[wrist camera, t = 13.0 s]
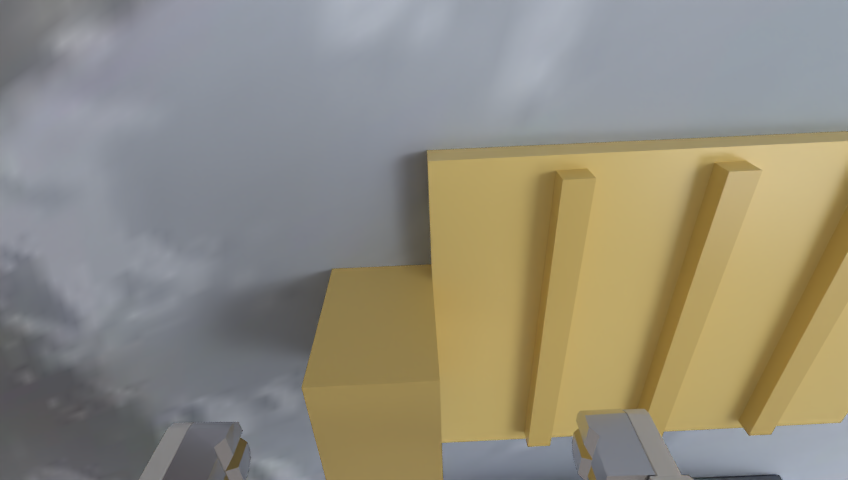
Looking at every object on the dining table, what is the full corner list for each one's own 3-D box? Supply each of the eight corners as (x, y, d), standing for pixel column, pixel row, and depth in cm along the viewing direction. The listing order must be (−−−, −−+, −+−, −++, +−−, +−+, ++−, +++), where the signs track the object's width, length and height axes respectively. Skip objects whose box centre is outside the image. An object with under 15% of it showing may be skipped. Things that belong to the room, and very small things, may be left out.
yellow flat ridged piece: (1004, 122, 12) (1297, 196, 8) (823, 405, 18) (940, 527, 14) (311, 155, 12) (263, 247, 8) (360, 428, 17) (346, 557, 14)
